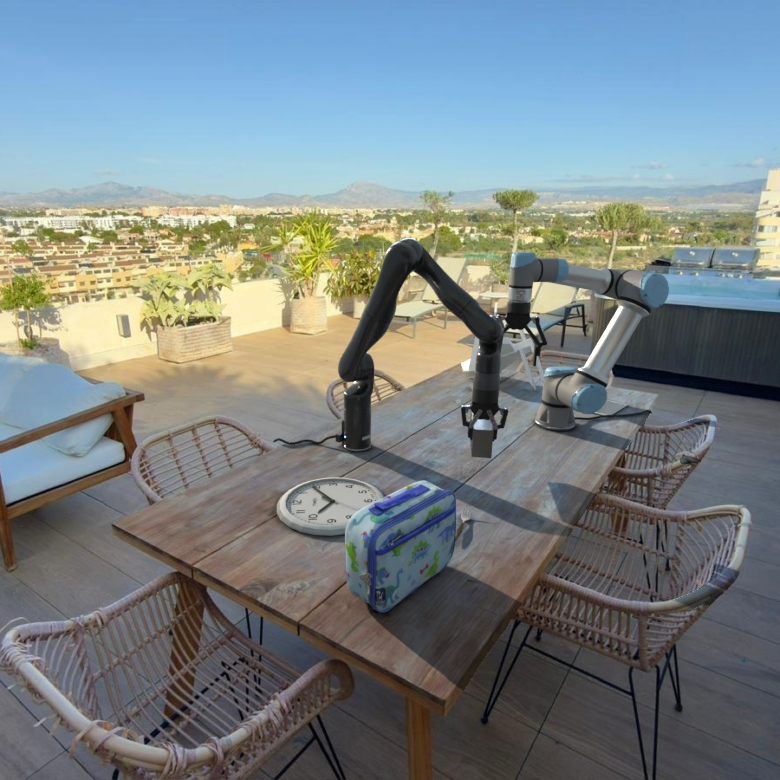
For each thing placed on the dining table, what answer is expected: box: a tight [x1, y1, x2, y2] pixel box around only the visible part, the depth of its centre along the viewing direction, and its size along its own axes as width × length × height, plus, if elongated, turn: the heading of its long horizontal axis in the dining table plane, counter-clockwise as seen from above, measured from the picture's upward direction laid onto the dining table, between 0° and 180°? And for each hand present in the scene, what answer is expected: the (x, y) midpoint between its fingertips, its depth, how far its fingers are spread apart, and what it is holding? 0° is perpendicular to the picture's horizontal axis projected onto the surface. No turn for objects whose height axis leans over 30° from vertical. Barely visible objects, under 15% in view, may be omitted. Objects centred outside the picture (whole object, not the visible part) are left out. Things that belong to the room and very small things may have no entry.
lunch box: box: [344, 480, 457, 614], centre depth 109 cm, size 26×11×21 cm, turn 135°
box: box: [469, 410, 494, 459], centre depth 163 cm, size 22×6×9 cm, turn 173°
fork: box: [455, 504, 474, 543], centre depth 133 cm, size 3×16×2 cm, turn 160°
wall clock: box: [276, 476, 386, 537], centre depth 142 cm, size 30×2×30 cm
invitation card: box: [593, 399, 629, 416], centre depth 226 cm, size 21×1×15 cm
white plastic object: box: [460, 329, 545, 391], centre depth 259 cm, size 37×45×31 cm
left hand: (481, 439), depth 156 cm, fingers closed on box, 5 cm apart
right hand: (513, 364), depth 176 cm, fingers open, 13 cm apart
